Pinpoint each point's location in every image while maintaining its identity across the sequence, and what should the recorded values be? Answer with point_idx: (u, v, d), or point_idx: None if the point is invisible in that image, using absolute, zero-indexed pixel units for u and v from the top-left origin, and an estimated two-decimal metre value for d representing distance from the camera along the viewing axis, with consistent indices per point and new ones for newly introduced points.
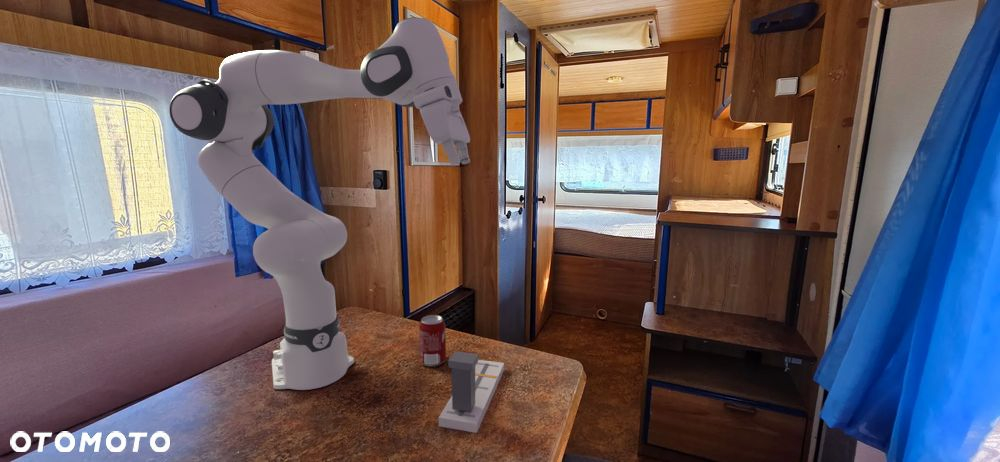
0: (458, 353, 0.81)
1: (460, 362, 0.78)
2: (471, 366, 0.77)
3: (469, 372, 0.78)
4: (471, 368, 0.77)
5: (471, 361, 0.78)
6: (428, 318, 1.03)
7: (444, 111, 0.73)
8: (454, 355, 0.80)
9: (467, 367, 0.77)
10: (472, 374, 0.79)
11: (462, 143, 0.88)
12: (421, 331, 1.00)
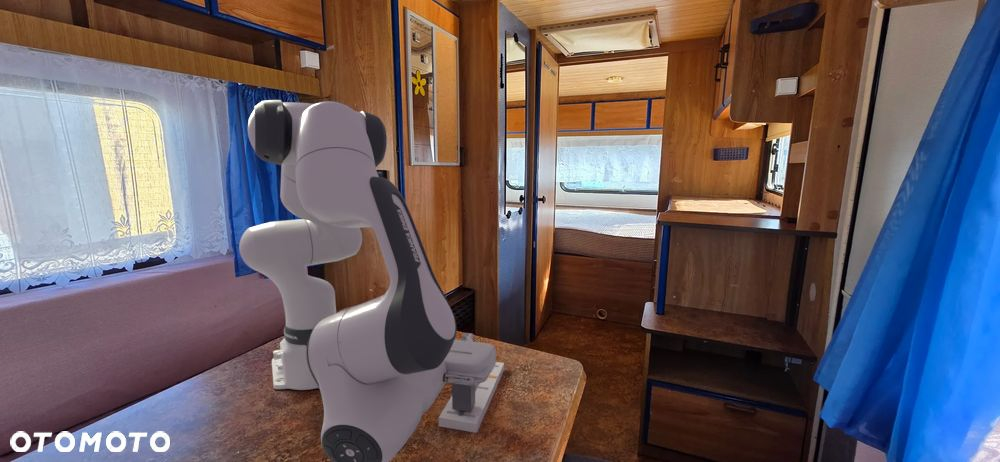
0: None
1: None
2: None
3: None
4: None
5: None
6: None
7: None
8: None
9: None
10: None
11: None
12: None
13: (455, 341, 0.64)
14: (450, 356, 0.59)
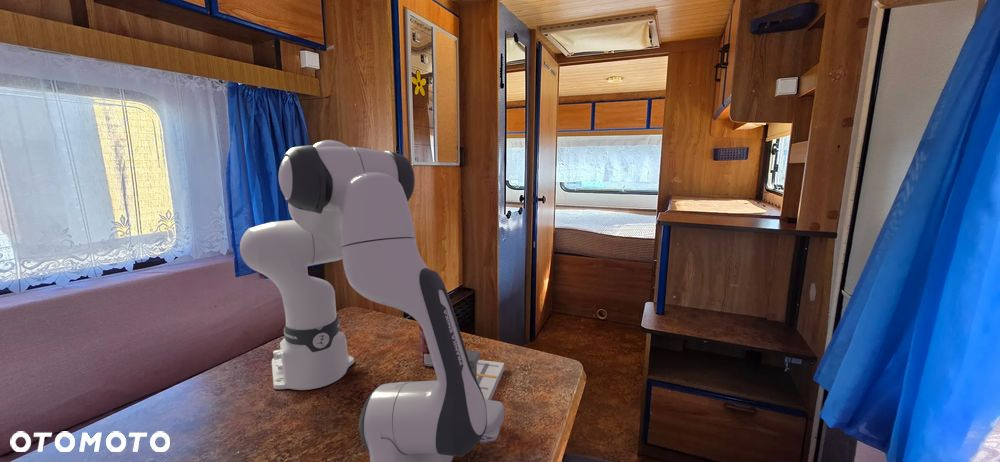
0: None
1: None
2: (473, 363, 0.78)
3: None
4: (473, 365, 0.78)
5: (472, 359, 0.79)
6: None
7: None
8: None
9: None
10: (474, 371, 0.80)
11: None
12: (421, 331, 1.00)
13: None
14: None
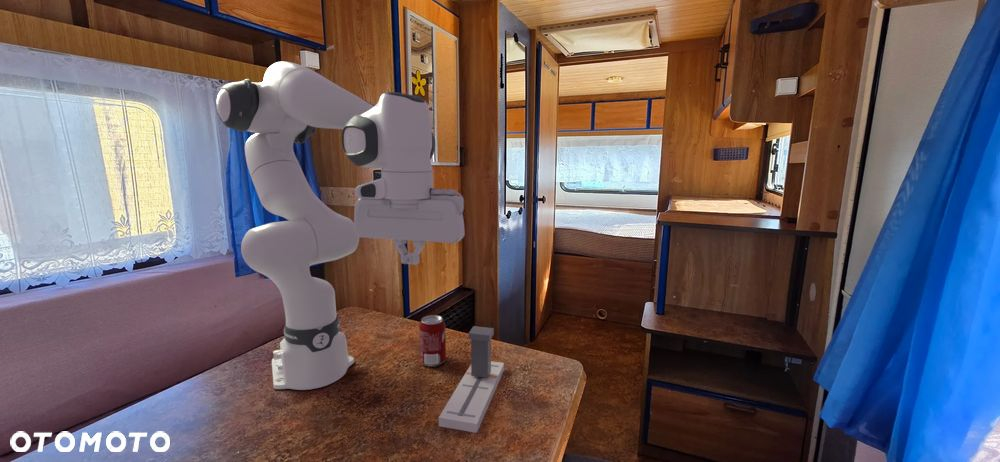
0: (476, 327, 0.94)
1: (479, 334, 0.90)
2: (488, 337, 0.90)
3: (486, 343, 0.90)
4: (488, 339, 0.90)
5: (488, 334, 0.90)
6: (428, 318, 1.03)
7: (354, 211, 0.70)
8: (473, 329, 0.93)
9: (485, 338, 0.90)
10: (489, 345, 0.92)
11: None
12: (421, 331, 1.00)
13: None
14: None
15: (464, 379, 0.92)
